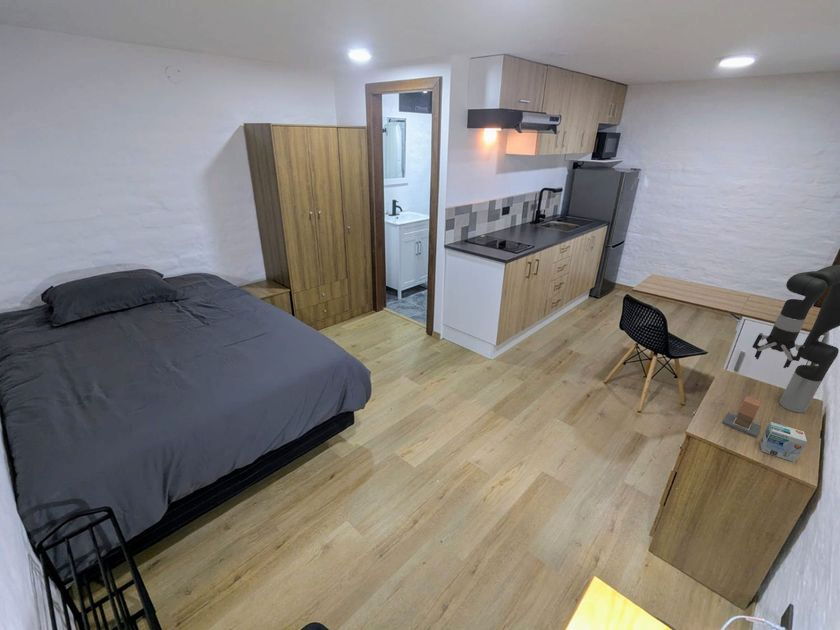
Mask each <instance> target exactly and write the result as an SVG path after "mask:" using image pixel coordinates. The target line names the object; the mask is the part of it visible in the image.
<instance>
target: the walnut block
mask: <svg viewBox="0 0 840 630" xmlns="http://www.w3.org/2000/svg"><path fill="white" fill-rule="evenodd" d="M756 414H757V413H756ZM756 414H755V416H756ZM736 416H737V418H736V420H735V422H734V424H737V425H739V426H742V427H744V428H746V429H749V427H750V425H751V423H752V422H754V419H755V416H754V418H752V417H749V416H747V415H744V414H742V413H739V412H738V414H737V415H736Z"/></svg>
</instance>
